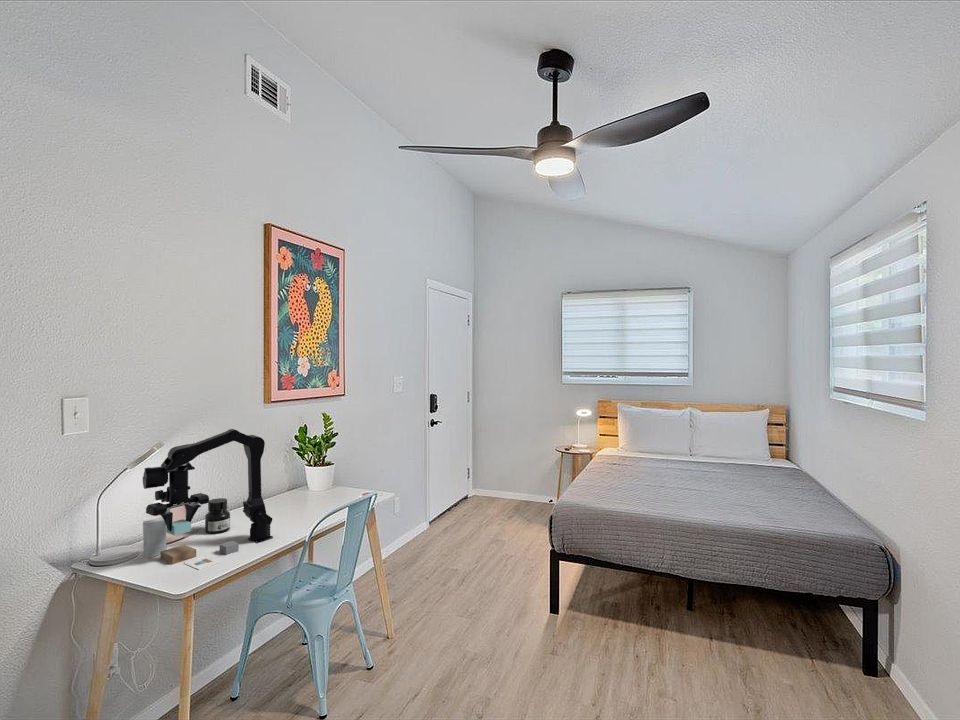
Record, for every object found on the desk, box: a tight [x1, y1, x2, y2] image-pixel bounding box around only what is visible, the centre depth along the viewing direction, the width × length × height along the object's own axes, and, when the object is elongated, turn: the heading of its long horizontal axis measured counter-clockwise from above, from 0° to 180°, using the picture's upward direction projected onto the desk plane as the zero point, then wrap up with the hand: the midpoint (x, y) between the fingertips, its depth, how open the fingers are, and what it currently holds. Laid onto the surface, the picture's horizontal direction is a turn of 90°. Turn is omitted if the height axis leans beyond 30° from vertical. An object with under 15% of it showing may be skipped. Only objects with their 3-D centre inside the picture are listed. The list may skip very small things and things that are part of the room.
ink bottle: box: [204, 497, 231, 535], centre depth 208 cm, size 10×9×12 cm
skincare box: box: [142, 517, 167, 559], centre depth 183 cm, size 6×4×12 cm
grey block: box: [219, 540, 240, 556], centre depth 187 cm, size 4×4×3 cm
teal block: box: [166, 519, 192, 536], centre depth 180 cm, size 6×6×3 cm
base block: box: [159, 544, 197, 565], centre depth 180 cm, size 8×8×3 cm
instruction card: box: [183, 556, 220, 571], centre depth 176 cm, size 7×9×1 cm
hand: (178, 528), depth 180 cm, fingers closed on teal block, 5 cm apart
